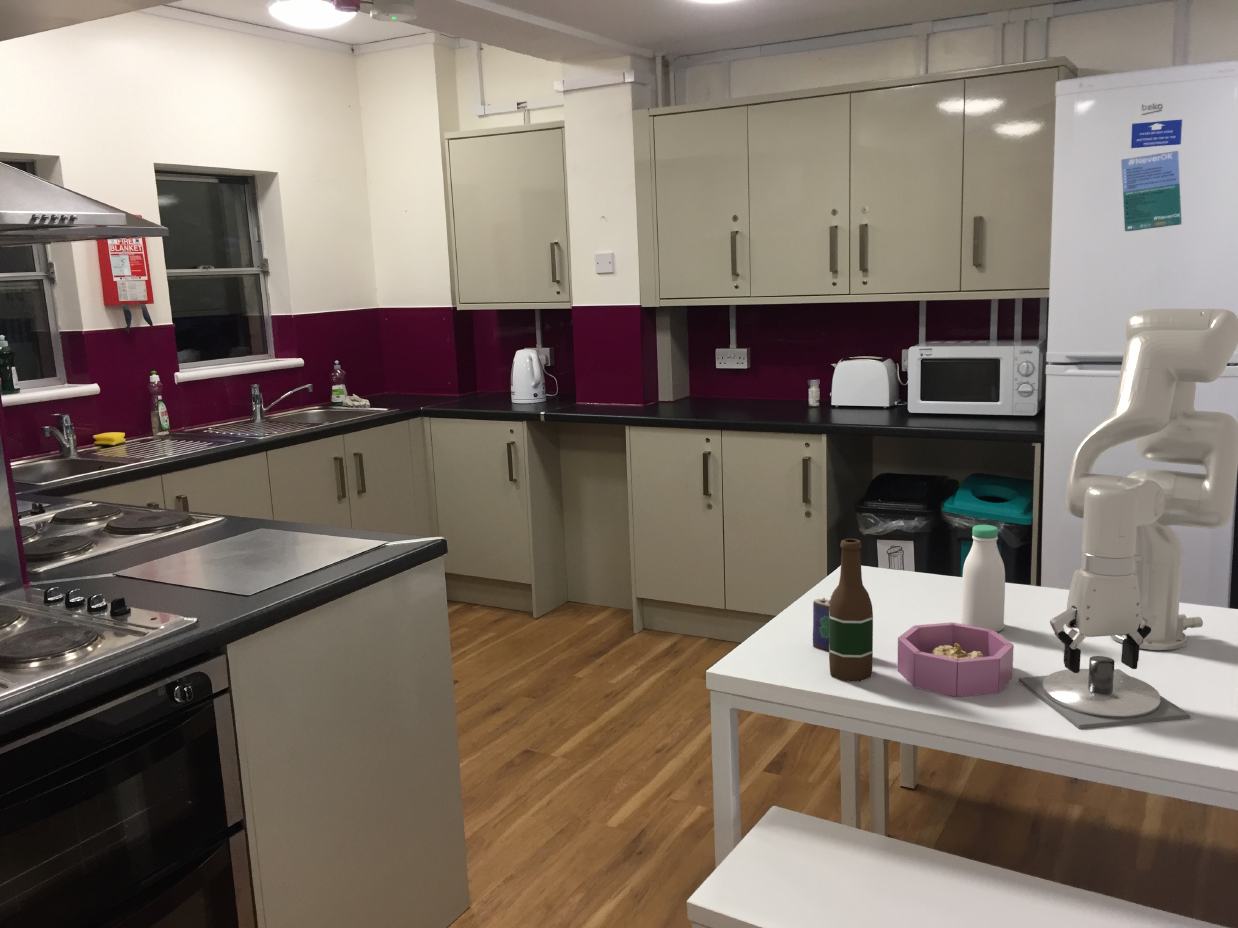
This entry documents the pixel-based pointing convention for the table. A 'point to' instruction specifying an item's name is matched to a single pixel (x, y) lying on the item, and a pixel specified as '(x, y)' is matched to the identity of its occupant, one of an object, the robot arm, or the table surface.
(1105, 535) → the robot arm
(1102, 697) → the lid
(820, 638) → the flask
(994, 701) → the table surface
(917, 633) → the pink octagonal dish
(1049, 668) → the table surface
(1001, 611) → the milk bottle
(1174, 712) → the mat
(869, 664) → the beer bottle
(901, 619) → the table surface
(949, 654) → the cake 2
